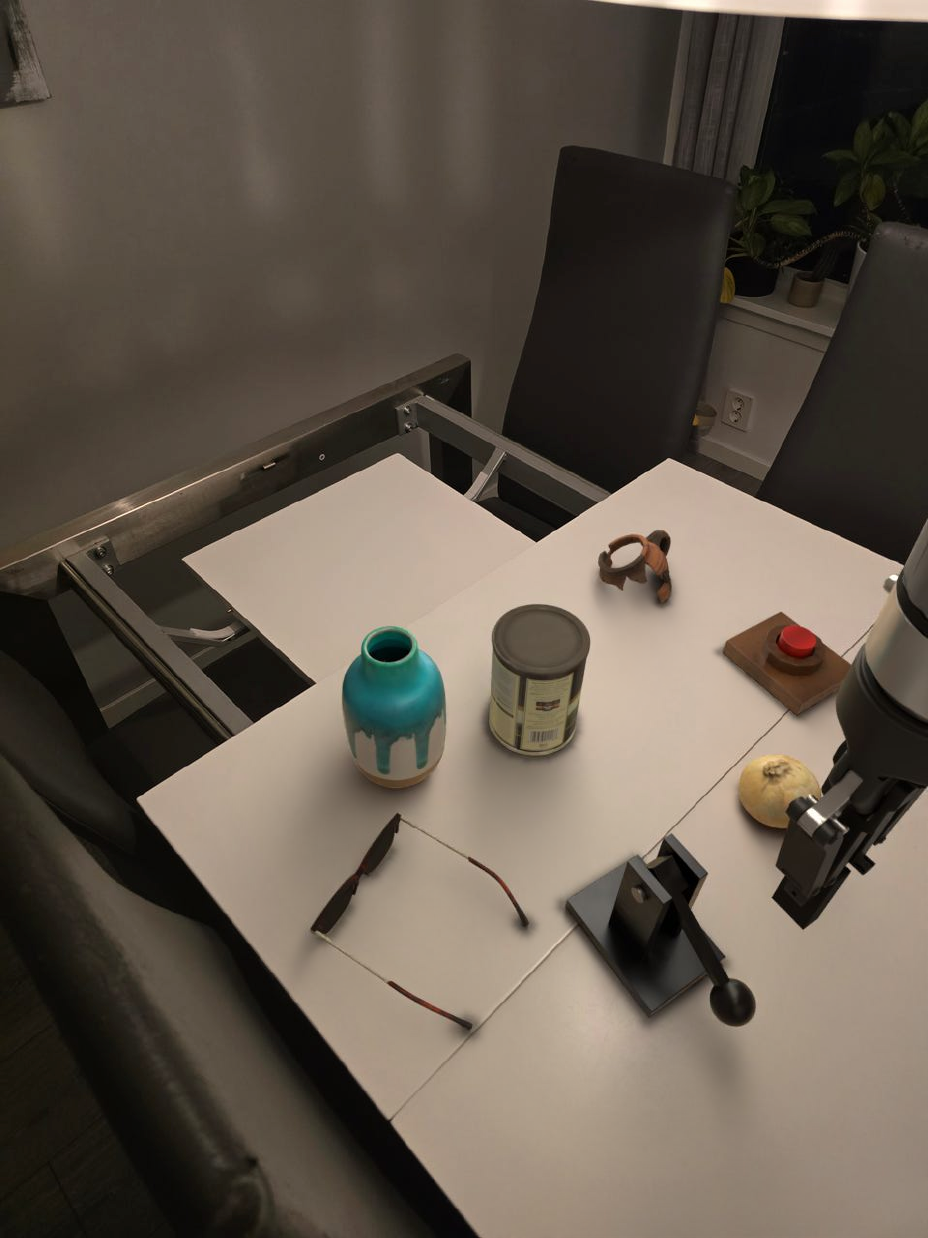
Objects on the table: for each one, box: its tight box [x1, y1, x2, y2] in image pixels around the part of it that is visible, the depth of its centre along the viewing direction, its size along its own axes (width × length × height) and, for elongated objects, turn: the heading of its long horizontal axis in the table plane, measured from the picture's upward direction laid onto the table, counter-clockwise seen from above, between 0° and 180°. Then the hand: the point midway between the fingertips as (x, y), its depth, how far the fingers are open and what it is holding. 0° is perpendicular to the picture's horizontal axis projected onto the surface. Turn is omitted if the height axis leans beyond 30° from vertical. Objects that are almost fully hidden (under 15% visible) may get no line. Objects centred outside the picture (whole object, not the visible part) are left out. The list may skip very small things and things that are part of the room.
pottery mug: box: [597, 529, 673, 604], centre depth 108 cm, size 12×10×8 cm
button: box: [778, 625, 816, 659], centre depth 95 cm, size 4×4×2 cm
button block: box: [722, 611, 852, 716], centre depth 97 cm, size 12×10×4 cm
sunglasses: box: [309, 812, 530, 1030], centre depth 72 cm, size 14×16×5 cm
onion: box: [738, 754, 822, 830], centre depth 81 cm, size 8×8×7 cm
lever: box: [645, 855, 757, 1028], centre depth 65 cm, size 14×4×4 cm, turn 32°
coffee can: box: [488, 603, 591, 757], centre depth 87 cm, size 10×10×14 cm
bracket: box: [565, 833, 726, 1018], centre depth 69 cm, size 12×9×13 cm
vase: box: [341, 625, 448, 789], centre depth 80 cm, size 11×11×19 cm
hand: (794, 907), depth 53 cm, fingers closed
